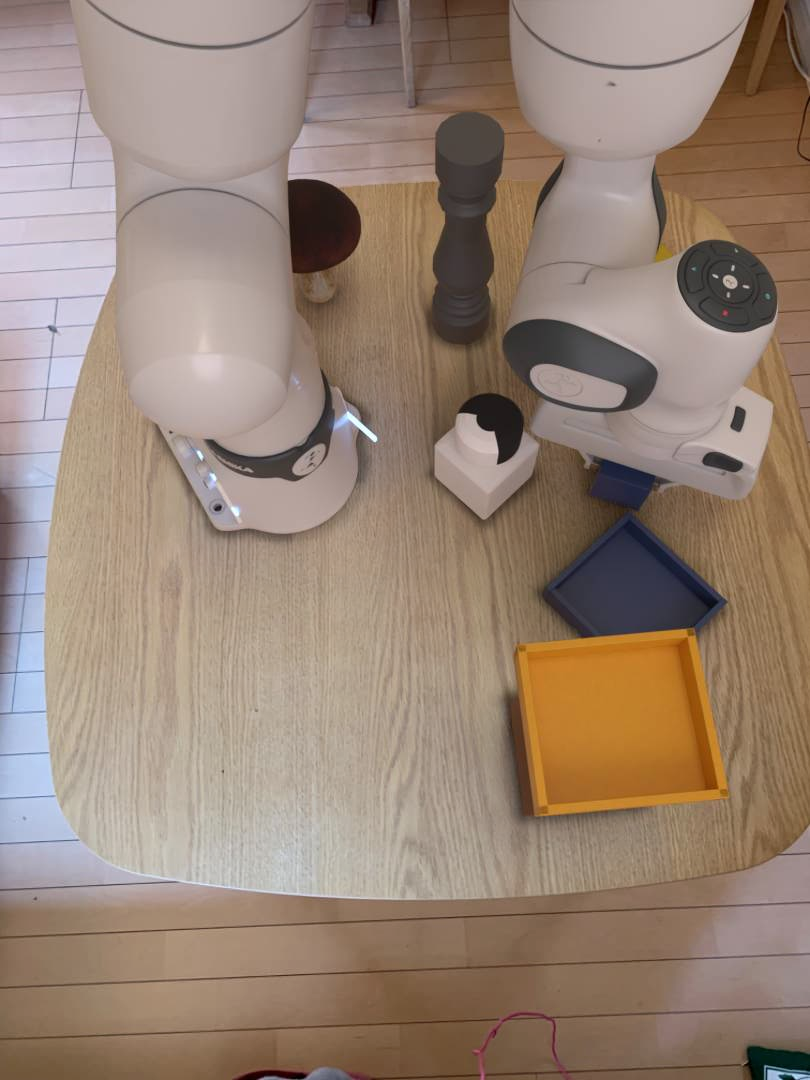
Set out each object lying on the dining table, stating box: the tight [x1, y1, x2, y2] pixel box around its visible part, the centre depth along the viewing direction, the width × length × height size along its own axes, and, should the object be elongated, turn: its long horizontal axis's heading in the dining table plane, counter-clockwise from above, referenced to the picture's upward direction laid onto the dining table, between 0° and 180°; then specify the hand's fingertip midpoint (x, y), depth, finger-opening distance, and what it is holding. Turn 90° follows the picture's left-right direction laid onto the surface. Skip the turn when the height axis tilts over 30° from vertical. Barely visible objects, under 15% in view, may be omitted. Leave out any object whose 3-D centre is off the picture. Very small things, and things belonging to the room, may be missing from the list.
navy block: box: [588, 459, 656, 512], centre depth 82 cm, size 5×5×5 cm
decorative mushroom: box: [288, 178, 362, 304], centre depth 87 cm, size 11×11×15 cm
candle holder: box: [431, 111, 505, 345], centre depth 80 cm, size 6×6×25 cm
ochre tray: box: [508, 628, 730, 818], centre depth 66 cm, size 12×11×21 cm
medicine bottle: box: [433, 392, 540, 521], centre depth 80 cm, size 7×7×12 cm
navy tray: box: [541, 510, 729, 638], centre depth 79 cm, size 12×11×3 cm
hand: (624, 474), depth 82 cm, fingers closed on navy block, 5 cm apart
